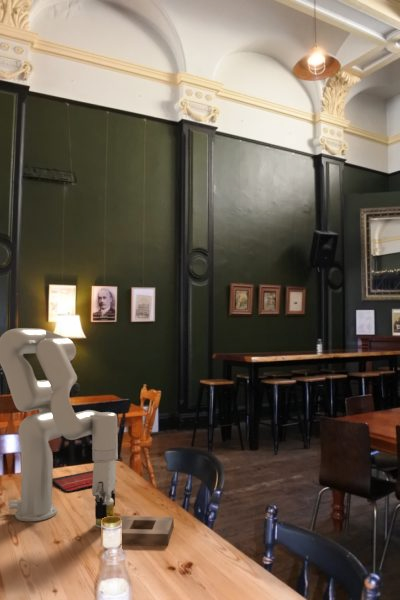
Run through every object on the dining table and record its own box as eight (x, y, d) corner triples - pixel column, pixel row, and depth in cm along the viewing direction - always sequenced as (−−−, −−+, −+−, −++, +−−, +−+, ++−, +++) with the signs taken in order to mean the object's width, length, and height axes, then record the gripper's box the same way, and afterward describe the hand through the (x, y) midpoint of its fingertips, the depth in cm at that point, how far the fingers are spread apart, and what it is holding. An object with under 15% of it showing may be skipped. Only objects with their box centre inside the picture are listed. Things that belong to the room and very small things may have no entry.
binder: (50, 478, 185) (99, 468, 198) (49, 484, 184) (99, 474, 197) (66, 490, 172) (118, 479, 185) (66, 496, 172) (118, 485, 185)
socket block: (109, 544, 130) (109, 532, 130) (120, 526, 142) (120, 516, 142) (167, 545, 129) (167, 534, 129) (173, 527, 141) (173, 517, 141)
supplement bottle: (109, 520, 147) (109, 488, 148) (116, 525, 143) (116, 492, 143) (92, 524, 144) (92, 491, 145) (99, 530, 140) (99, 496, 140)
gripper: (100, 447, 154) (101, 502, 153) (84, 461, 137) (84, 523, 135) (123, 447, 153) (124, 502, 152) (109, 461, 136) (110, 523, 135)
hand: (105, 512), depth 144 cm, fingers open, 9 cm apart
